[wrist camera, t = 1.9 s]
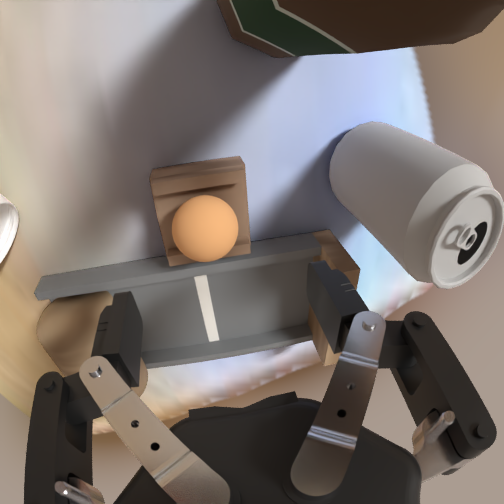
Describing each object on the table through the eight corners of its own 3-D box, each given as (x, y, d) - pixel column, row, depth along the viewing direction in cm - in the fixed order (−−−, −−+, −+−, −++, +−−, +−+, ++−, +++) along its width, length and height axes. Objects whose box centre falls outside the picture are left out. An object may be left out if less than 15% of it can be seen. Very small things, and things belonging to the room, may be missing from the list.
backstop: (305, 324, 31) (324, 366, 27) (311, 232, 25) (340, 273, 20) (319, 321, 31) (339, 362, 27) (329, 229, 25) (360, 268, 21)
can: (373, 219, 26) (459, 310, 16) (306, 185, 23) (395, 285, 13) (416, 148, 23) (524, 213, 13) (355, 100, 20) (483, 147, 10)
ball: (178, 244, 21) (178, 280, 18) (167, 191, 19) (164, 219, 15) (235, 235, 21) (246, 269, 18) (230, 181, 19) (240, 207, 16)
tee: (168, 244, 23) (167, 267, 21) (152, 169, 20) (147, 184, 17) (245, 231, 24) (253, 252, 21) (239, 155, 20) (247, 169, 18)
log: (86, 353, 27) (77, 412, 21) (50, 292, 22) (26, 353, 17) (148, 347, 28) (147, 409, 22) (120, 281, 23) (108, 348, 18)
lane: (88, 357, 28) (85, 373, 26) (42, 276, 22) (34, 293, 20) (305, 324, 31) (312, 340, 29) (311, 232, 25) (321, 246, 23)
